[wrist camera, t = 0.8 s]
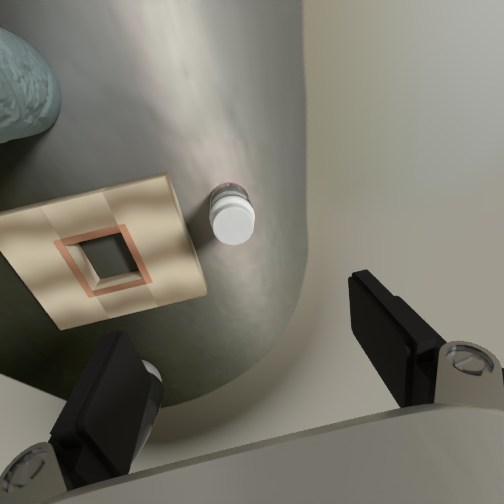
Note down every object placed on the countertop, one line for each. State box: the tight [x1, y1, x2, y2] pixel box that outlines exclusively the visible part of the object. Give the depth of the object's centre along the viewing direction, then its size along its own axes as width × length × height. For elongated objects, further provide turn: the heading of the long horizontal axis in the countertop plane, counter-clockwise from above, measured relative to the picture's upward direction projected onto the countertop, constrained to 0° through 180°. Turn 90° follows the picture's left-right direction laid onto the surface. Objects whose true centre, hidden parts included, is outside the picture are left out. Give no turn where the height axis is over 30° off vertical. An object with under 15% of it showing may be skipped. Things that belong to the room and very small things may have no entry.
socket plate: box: [0, 172, 207, 330], centre depth 34 cm, size 16×20×3 cm
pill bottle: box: [209, 183, 255, 245], centre depth 30 cm, size 5×5×8 cm
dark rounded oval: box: [131, 359, 164, 464], centre depth 39 cm, size 10×10×15 cm
